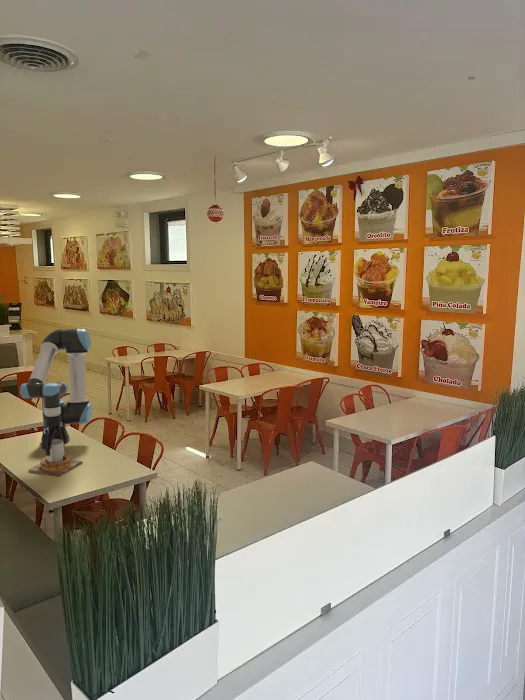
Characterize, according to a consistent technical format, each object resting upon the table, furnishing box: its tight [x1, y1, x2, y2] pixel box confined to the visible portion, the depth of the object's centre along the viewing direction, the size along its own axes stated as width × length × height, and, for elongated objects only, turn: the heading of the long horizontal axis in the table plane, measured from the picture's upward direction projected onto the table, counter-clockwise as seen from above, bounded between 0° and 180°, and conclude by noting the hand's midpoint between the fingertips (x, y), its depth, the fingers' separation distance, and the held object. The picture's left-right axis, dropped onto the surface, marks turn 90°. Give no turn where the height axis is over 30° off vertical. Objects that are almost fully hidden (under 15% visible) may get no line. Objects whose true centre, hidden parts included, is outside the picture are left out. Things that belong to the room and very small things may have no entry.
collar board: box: [28, 453, 83, 477], centre depth 266 cm, size 18×18×4 cm
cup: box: [50, 439, 63, 463], centre depth 265 cm, size 8×8×12 cm
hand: (55, 458), depth 266 cm, fingers closed on cup, 8 cm apart
